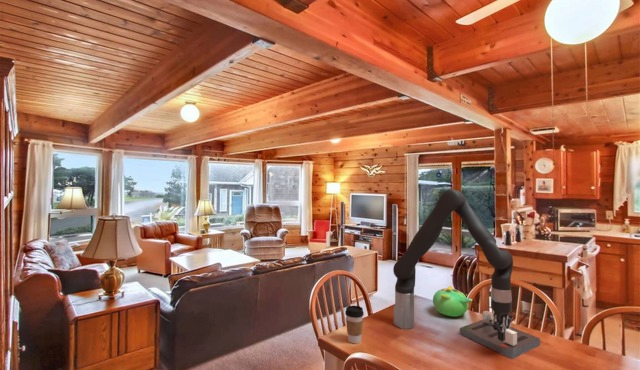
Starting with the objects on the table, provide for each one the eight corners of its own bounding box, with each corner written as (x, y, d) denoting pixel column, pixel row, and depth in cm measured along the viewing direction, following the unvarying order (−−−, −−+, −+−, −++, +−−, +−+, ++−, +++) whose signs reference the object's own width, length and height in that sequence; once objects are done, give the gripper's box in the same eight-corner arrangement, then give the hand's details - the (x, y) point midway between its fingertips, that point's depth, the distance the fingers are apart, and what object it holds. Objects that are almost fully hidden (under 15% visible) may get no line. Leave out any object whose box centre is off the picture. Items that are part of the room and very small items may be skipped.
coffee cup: (341, 340, 142) (341, 308, 142) (352, 334, 148) (352, 302, 148) (356, 347, 136) (356, 313, 136) (367, 340, 143) (367, 307, 142)
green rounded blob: (462, 309, 176) (462, 283, 176) (474, 323, 160) (474, 294, 159) (429, 308, 178) (429, 282, 178) (437, 321, 161) (437, 293, 161)
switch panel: (511, 359, 127) (512, 338, 127) (459, 334, 148) (460, 316, 148) (540, 345, 138) (540, 326, 138) (488, 323, 159) (488, 307, 159)
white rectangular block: (513, 345, 131) (513, 334, 131) (503, 341, 135) (503, 330, 134) (517, 344, 133) (517, 332, 132) (507, 339, 136) (507, 328, 136)
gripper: (501, 292, 136) (501, 332, 137) (482, 298, 130) (483, 340, 130) (519, 298, 130) (519, 339, 130) (500, 304, 123) (501, 348, 124)
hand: (501, 339), depth 130 cm, fingers closed
